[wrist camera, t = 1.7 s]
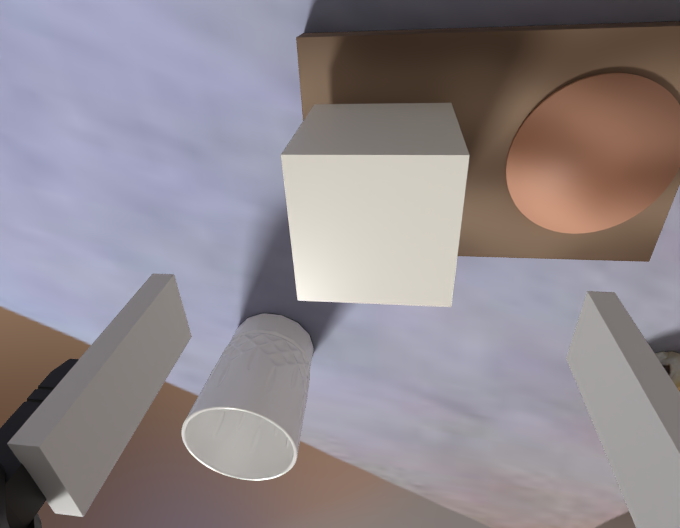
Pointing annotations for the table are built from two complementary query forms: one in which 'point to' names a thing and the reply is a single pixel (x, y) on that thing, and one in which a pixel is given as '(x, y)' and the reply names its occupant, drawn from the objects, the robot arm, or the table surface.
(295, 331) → the white cup
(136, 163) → the table surface
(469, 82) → the board
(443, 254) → the matte off-white cube
